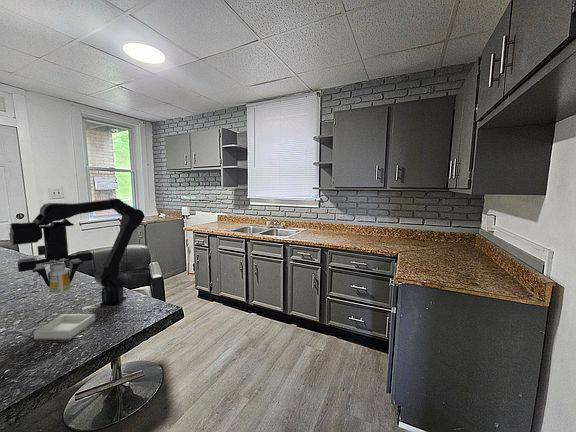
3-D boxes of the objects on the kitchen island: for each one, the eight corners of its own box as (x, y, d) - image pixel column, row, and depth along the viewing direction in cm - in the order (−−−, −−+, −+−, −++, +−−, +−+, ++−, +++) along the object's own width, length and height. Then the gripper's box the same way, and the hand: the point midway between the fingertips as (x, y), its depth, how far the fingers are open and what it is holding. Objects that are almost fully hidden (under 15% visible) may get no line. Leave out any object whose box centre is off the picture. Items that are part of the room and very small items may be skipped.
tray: (95, 320, 87) (94, 314, 87) (70, 339, 77) (69, 331, 76) (64, 320, 87) (63, 314, 86) (34, 339, 76) (33, 331, 76)
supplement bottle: (69, 286, 91) (66, 260, 90) (72, 290, 88) (69, 264, 87) (49, 291, 87) (46, 264, 86) (50, 295, 84) (48, 267, 83)
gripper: (85, 233, 98) (88, 272, 100) (15, 240, 84) (20, 285, 86) (92, 237, 90) (95, 279, 92) (15, 246, 77) (21, 294, 78)
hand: (59, 284), depth 87 cm, fingers closed on supplement bottle, 5 cm apart
